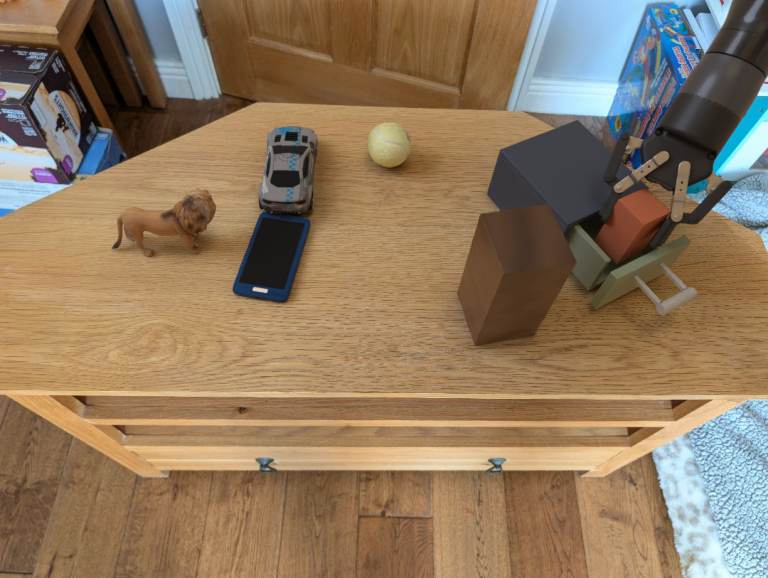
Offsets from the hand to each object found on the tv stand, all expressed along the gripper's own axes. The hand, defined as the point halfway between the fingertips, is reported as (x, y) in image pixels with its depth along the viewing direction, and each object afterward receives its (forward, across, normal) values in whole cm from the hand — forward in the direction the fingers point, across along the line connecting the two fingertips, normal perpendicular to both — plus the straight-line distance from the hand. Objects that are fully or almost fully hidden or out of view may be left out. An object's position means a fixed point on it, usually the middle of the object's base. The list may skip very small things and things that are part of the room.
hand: (626, 234), depth 68 cm
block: (+2, 0, +4) cm, 5 cm away
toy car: (+15, -45, -2) cm, 47 cm away
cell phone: (+24, -37, -11) cm, 45 cm away
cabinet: (+2, -10, +11) cm, 15 cm away
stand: (+16, -8, -3) cm, 19 cm away
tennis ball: (+7, -35, +6) cm, 37 cm away
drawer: (+5, +1, +7) cm, 8 cm away
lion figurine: (+29, -49, -15) cm, 59 cm away
